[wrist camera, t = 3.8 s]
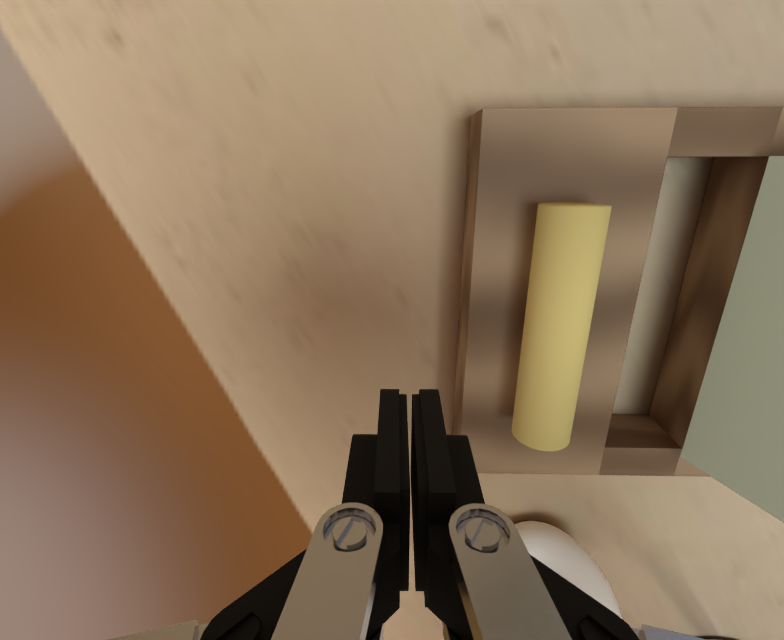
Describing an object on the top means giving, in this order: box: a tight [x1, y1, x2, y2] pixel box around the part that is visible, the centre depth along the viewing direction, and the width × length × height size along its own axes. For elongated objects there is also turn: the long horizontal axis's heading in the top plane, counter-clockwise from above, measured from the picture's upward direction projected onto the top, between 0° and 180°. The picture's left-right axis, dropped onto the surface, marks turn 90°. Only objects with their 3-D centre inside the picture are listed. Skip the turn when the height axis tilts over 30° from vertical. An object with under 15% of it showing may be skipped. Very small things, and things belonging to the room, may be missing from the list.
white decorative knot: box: [514, 521, 622, 619], centre depth 28 cm, size 11×12×9 cm
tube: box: [512, 202, 612, 451], centre depth 20 cm, size 12×3×3 cm, turn 0°
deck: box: [452, 107, 784, 476], centre depth 22 cm, size 20×20×6 cm
